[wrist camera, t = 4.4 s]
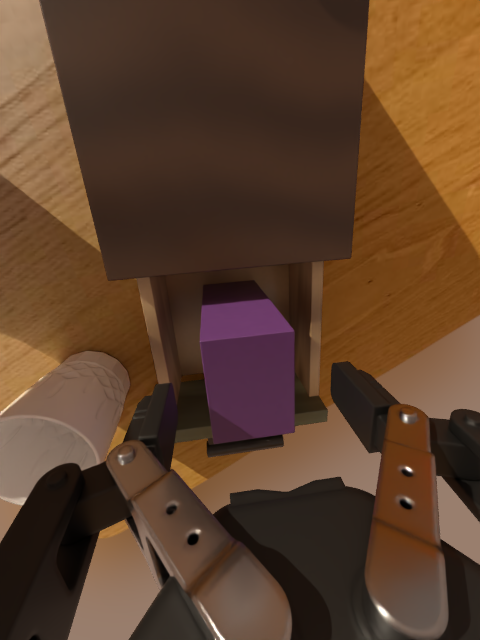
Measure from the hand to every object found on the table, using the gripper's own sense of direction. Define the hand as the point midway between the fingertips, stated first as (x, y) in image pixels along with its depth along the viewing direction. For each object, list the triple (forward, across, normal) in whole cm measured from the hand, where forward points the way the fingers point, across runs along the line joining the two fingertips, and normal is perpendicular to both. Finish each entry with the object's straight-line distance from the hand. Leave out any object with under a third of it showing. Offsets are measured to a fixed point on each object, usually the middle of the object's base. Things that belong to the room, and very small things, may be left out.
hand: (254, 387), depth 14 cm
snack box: (+11, 0, 0) cm, 11 cm away
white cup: (+13, +14, +6) cm, 20 cm away
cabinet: (+13, 0, -13) cm, 19 cm away
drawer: (+12, 0, +3) cm, 13 cm away
